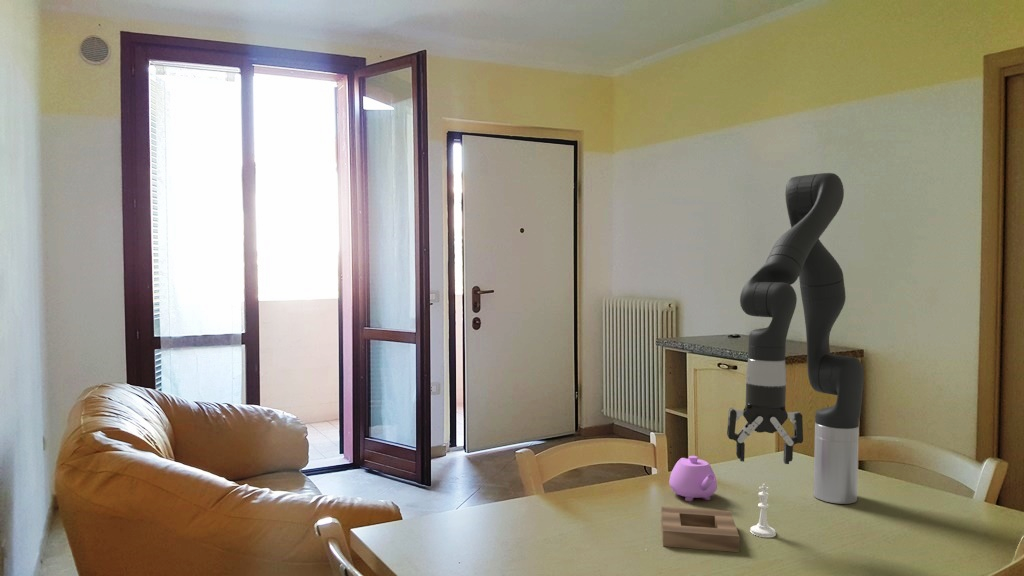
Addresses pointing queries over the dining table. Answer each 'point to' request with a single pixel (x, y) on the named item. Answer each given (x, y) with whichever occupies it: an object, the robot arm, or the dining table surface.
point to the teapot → (693, 479)
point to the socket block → (699, 529)
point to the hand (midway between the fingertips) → (763, 461)
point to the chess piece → (763, 517)
